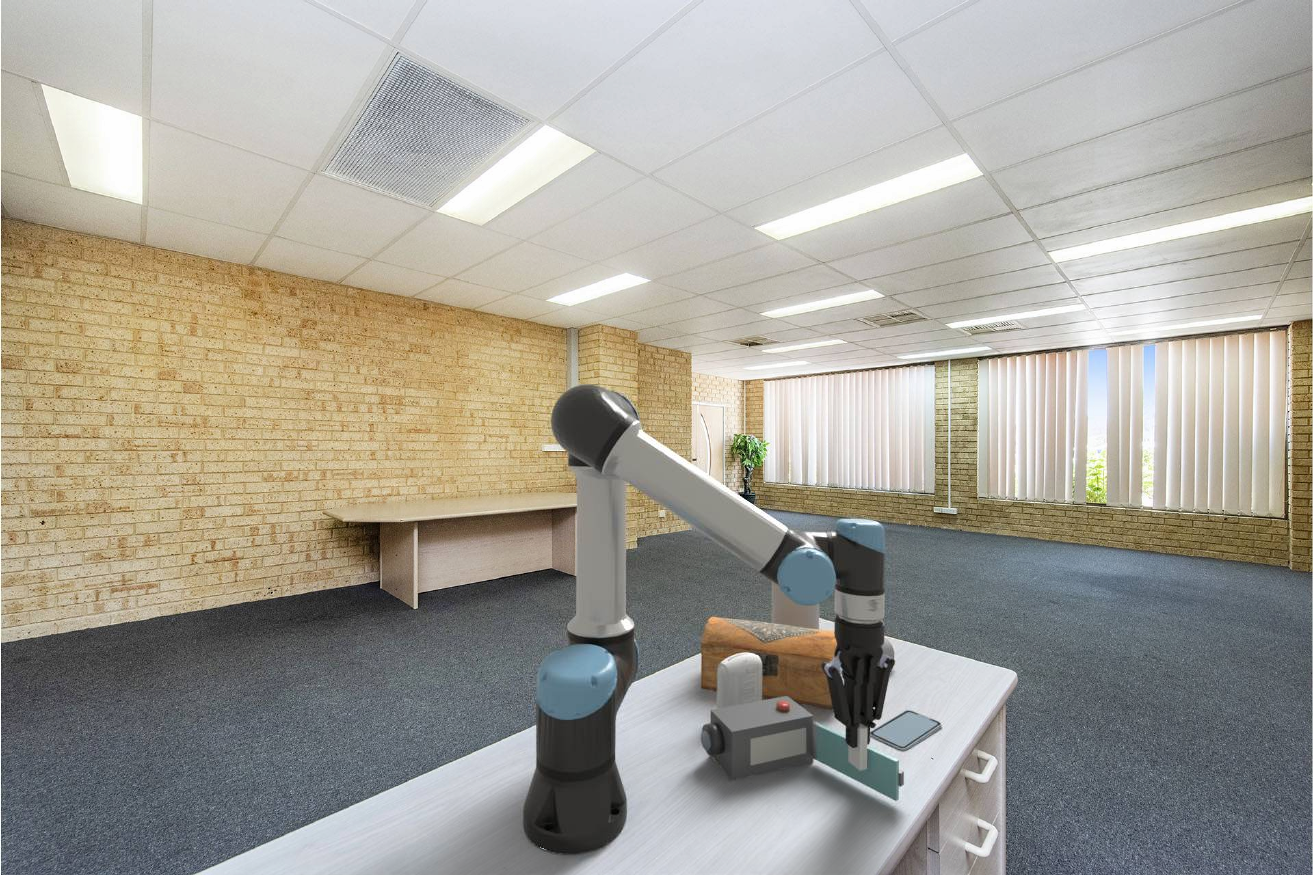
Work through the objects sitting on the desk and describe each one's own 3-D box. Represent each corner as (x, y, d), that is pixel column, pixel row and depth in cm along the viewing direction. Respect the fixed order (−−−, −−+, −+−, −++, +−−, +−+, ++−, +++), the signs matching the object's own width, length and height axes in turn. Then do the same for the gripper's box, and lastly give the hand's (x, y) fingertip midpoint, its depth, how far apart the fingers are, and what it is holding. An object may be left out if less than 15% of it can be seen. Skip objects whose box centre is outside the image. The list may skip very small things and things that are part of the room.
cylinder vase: (790, 637, 157) (791, 550, 157) (828, 650, 147) (828, 557, 148) (762, 647, 149) (762, 555, 150) (799, 661, 140) (799, 563, 140)
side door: (903, 797, 84) (903, 758, 84) (897, 802, 83) (897, 762, 83) (818, 754, 96) (818, 719, 96) (811, 758, 95) (811, 723, 95)
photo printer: (750, 704, 117) (751, 646, 117) (765, 712, 113) (765, 652, 113) (713, 717, 111) (713, 656, 111) (727, 726, 107) (727, 663, 107)
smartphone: (866, 733, 105) (907, 708, 114) (866, 738, 105) (907, 713, 114) (903, 750, 99) (943, 723, 108) (904, 755, 99) (943, 728, 108)
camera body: (717, 783, 89) (717, 729, 89) (697, 757, 97) (697, 707, 97) (813, 761, 95) (813, 711, 96) (787, 738, 103) (787, 691, 103)
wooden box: (697, 690, 123) (698, 629, 123) (716, 663, 139) (716, 608, 139) (837, 715, 112) (837, 647, 113) (841, 683, 128) (841, 623, 128)
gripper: (841, 628, 82) (839, 787, 81) (908, 620, 86) (907, 770, 86) (811, 613, 89) (809, 759, 88) (874, 606, 93) (872, 745, 93)
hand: (857, 764), depth 87 cm, fingers closed
